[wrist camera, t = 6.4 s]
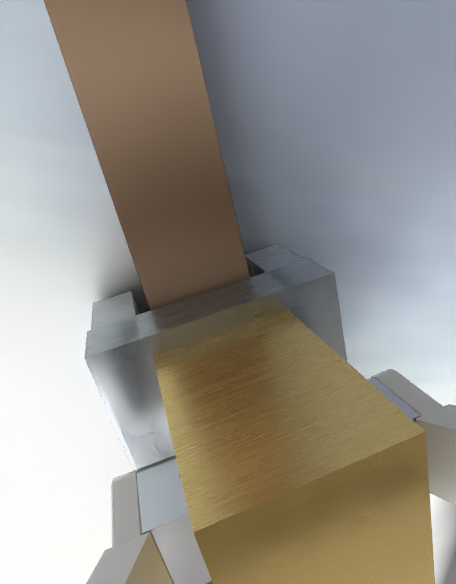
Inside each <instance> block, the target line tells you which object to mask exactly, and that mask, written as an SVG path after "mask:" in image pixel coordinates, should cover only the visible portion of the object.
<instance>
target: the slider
mask: <svg viewBox="0 0 456 584" xmlns="http://www.w3.org/2000/svg"><path fill="white" fill-rule="evenodd" d="M245 258H246V263H247V267H248V271H249V276H250V278H247V279H244V280H241V281H238V282H235V283H232V284H229V285H226V286H223V287H220V288H217V289H214V290H211V291H208V292H205V293H202V294H199V295H196V296H193V297H190V298H187V299H184V300H181V301H178V302H175V303H172V304H169V305H166V306H163V307H160V308H157V309H154V310H151V311H148V312H145V313H142V314H139V312H138V309H137V306H136V303H135V300H134V298H133V295H132V292H131V291H129V292H126V293H123V294H119V295H116V296H113V297H110V298H107V299H104V300H101V301H98V302H94V303H93V311H92V324H91V330H90V331H87V339H86V349H85V360H86V362H87V365H88V367H89V369H90V372H91V374H92V376H93V379H94V381H95V383H96V385H97V388H98V390H99V392H100V395H101V397H102V399H103V402H104V404H105V406H106V408H107V411H108V413H109V415H110V418H111V420H112V422H113V425H114V427H115V429H116V431H117V434H118V436H119V438H120V441H121V443H122V445H123V448H124V450H125V452H126V454H127V457H128V459H129V461H130V464H131V466H132V468H133V471H135V470H137V469H139V468H142V467H144V466H147V465H150V464H152V463H155V462H158V461H160V460H163V459H166V458H169V457H171V456H174V455H176V460H177V464H178V468H179V473H180V477H181V482H182V486H183V490H184V495H185V499H186V503H187V508H188V512H189V517H190V521H191V525H192V530H193V533H194V536H195V538H196V541H197V544H198V546H199V549H200V551H201V554H202V556H203V559H204V562H205V564H206V567H207V569H208V572H209V574H210V577H211V580H212V582H213V584H435V576H434V560H433V543H432V527H431V511H430V495H429V478H428V462H427V446H426V431H424V430H423V429H422V428H421V427H420V426H419V425H418V424H417V423H415V422H414V421H413V420H412V419H411V418H410V417H409V416H407V415H406V414H405V413H404V412H403V411H402V410H401V409H400V408H398V407H397V406H396V405H395V404H394V403H393V402H392V401H390V400H389V399H388V398H387V397H386V396H385V395H384V394H383V393H381V392H380V391H379V390H378V389H377V388H376V387H375V386H373V385H372V384H371V383H370V382H369V381H368V380H367V379H366V378H364V377H363V376H362V375H361V374H360V373H359V372H358V371H356V370H355V369H354V368H353V367H352V366H351V365H350V364H349V363H347V358H346V351H345V344H344V337H343V330H342V323H341V316H340V309H339V302H338V295H337V288H336V281H335V274H334V272H332V271H330V270H328V269H326V268H325V267H323V266H321V265H319V264H317V263H315V262H314V261H312V260H310V259H303V258H301V257H299V256H298V255H296V254H294V253H292V252H290V251H289V250H287V249H285V248H283V247H281V246H280V245H278V244H276V245H273V246H269V247H266V248H263V249H260V250H257V251H254V252H251V253H248V254H245Z"/></svg>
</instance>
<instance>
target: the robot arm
mask: <svg viewBox="0 0 456 584" xmlns="http://www.w3.org/2000/svg"><path fill="white" fill-rule="evenodd" d="M367 380H368V381H369V382H370V383H371V384H372V385H373V386H375V387H376V388H377V389H378V390H379V391H380V392H381V393H383V394H384V395H385V396H386V397H387V398H388V399H389V400H390V401H392V402H393V403H394V404H395V405H396V406H397V407H398V408H400V409H401V410H402V411H403V412H404V413H405V414H406V415H407V416H409V417H410V418H411V419H412V420H413V421H414V422H415V423H417V424H418V425H419V426H420V427H421V428H422V429H423V430H424V431H426V446H427V462H428V478H429V493H432V494H434V495H436V496H438V497H440V498H442V499H444V500H446V501H448V502H450V503H452V504H454V505H456V406H455V405H450V404H449V405H447V406H444V407H443V406H442V405H441V404H439V403H438V402H437V401H435V400H434V399H433V398H431V397H430V396H429V395H427V394H426V393H425V392H423V391H422V390H421V389H419V388H418V387H417V386H415V385H414V384H413V383H411V382H410V381H409V380H407V379H406V378H405V377H403V376H402V375H401V374H399V373H398V372H397V371H395V370H392V369H389V370H386V371H384V372H381V373H379V374H377V375H374V376H372V377H371V378H368V379H367ZM111 497H112V548H110V549H108V550H105V551H104V553H103V555H102V556H101V558H100V560H99V562H98V563H97V565H96V567H95V569H94V571H93V572H92V574H91V576H90V578H89V580H88V581H87V583H86V584H206V583H208V582H210V581H212V580H211V577H210V574H209V572H208V569H207V567H206V564H205V562H204V559H203V556H202V554H201V551H200V549H199V546H198V544H197V541H196V538H195V536H194V533H193V530H192V525H191V521H190V517H189V512H188V508H187V503H186V499H185V495H184V490H183V486H182V482H181V477H180V473H179V468H178V464H177V460H176V455H174V456H171V457H169V458H166V459H163V460H160V461H158V462H155V463H152V464H150V465H147V466H144V467H142V468H139V469H137V470H135V471H132V472H129V473H127V474H124V475H121V476H119V477H116V478H113V481H112V484H111Z"/></svg>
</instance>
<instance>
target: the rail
mask: <svg viewBox="0 0 456 584" xmlns="http://www.w3.org/2000/svg"><path fill="white" fill-rule="evenodd" d="M44 3H45V6H46V8H47V11H48V14H49V17H50V20H51V23H52V26H53V29H54V32H55V35H56V38H57V40H58V43H59V46H60V49H61V52H62V55H63V58H64V61H65V64H66V67H67V70H68V72H69V75H70V78H71V81H72V84H73V87H74V90H75V93H76V96H77V99H78V102H79V104H80V107H81V110H82V113H83V116H84V119H85V122H86V125H87V128H88V131H89V134H90V136H91V139H92V142H93V145H94V148H95V151H96V154H97V157H98V160H99V163H100V166H101V168H102V171H103V174H104V177H105V180H106V183H107V186H108V189H109V192H110V195H111V198H112V200H113V203H114V206H115V209H116V212H117V215H118V218H119V221H120V224H121V227H122V229H123V232H124V235H125V238H126V241H127V244H128V247H129V250H130V253H131V256H132V259H133V261H134V264H135V267H136V270H137V273H138V276H139V279H140V282H141V285H142V288H143V291H144V293H145V296H146V299H147V302H148V305H149V308H150V311H151V310H154V309H157V308H160V307H163V306H166V305H169V304H172V303H175V302H178V301H181V300H184V299H187V298H190V297H193V296H196V295H199V294H202V293H205V292H208V291H211V290H214V289H217V288H220V287H223V286H226V285H229V284H232V283H235V282H238V281H241V280H244V279H247V278H250V276H249V271H248V267H247V263H246V258H245V254H244V250H243V245H242V241H241V237H240V232H239V228H238V224H237V219H236V215H235V211H234V206H233V202H232V198H231V193H230V189H229V185H228V180H227V176H226V172H225V167H224V163H223V159H222V154H221V150H220V146H219V141H218V137H217V133H216V128H215V124H214V120H213V115H212V111H211V107H210V102H209V98H208V94H207V89H206V85H205V81H204V76H203V72H202V68H201V63H200V59H199V55H198V50H197V46H196V42H195V37H194V33H193V29H192V24H191V20H190V16H189V11H188V7H187V3H186V0H44ZM206 584H213V582H212V581H210V582H208V583H206Z"/></svg>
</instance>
